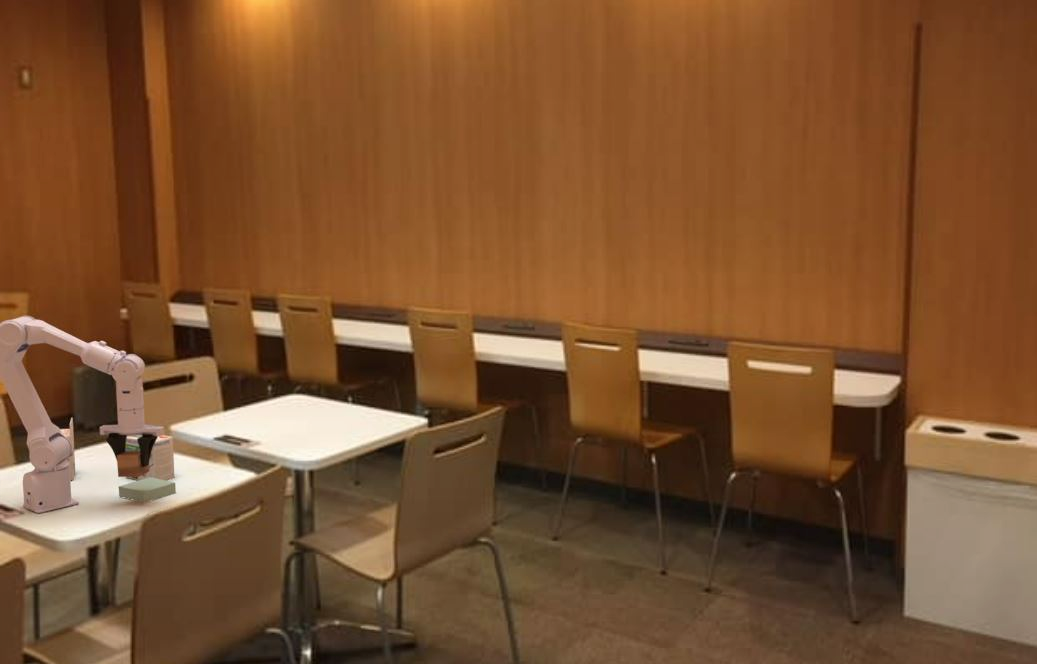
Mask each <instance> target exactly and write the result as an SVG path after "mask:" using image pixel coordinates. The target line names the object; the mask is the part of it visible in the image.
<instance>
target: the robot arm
mask: <svg viewBox="0 0 1037 664" xmlns="http://www.w3.org/2000/svg"><path fill="white" fill-rule="evenodd" d="M37 344H47V345H50V346H53V347H55V348H58V349H60V350H63V351H66V352H68V353H71V354H73V355H76V356H79V357H80V358H81V361H82V363H83V364H85V365H86V366H89V367H91V368H93V369H95V370H97V371H100V372H102V373H105V374H107V375H109V376H112V378H113V379H114V381H115V382H116V406H117V407H116V408H117V424H103V425H101V426H99V435H100V436H105V435H108V437H107V438H106V439H105V440H106V443H107V444H108V445H109V447H110V448H111V450H112V452H113V454H114V457H115V459H116V461H117V455H119V454H121V453H123V452H125V446H126V438H127V437H128V436H133V435H142V437H140V438H138V439H137V441H138V444H139V448H140V453H141V465H142V467H146V466H147V465H149V459H150V455H151V451H152V448H153V446H154V444H155V441H156V439H157V437H160V436H162V435H164V436H165V427H164V426H160V425H159V426H158V425H151V424H145V423H146V422H145V421H146V419H145V401H144V400H145V399H144V387H143V386H144V384H143V377H142V376H143V375H144V373H145V371H146V365H145V361H144V360H143V359H142V358H141V357H140V356H139V355H137V354H133V353H130V354H129V353H128V354H127V351H125V350H120V351H119V350H117V349H115V348H112V347H110V346H108V345H107V342H106V341H104V340H100V341H97V340H94V341H91V342H85V341H84V340H82V339H79V338H77V337H76V336H73V335H72V334H70V333H67V332H65V331H63V330H61V329H59V328H57V327H55V326H54V325H51V324H49V323H47V322H45V321H44V320H41V319H36V318H35V317H33V316H31V315H22V316H19V317H16V318H13V319H6V320H4V321H2V322H0V380H1V382H2V384H3V386H4V388H5V390H6V393H8V394H7V395H8V397H9V398H10V400H11V402H12V404H13V407H14V409H15V410H16V412H17V414H18V416H19V419H21V422H22V425H23V426H24V428H25V430H26V432H27V439H26V445H27V448H28V451H29V461H30V463H31V465H32V466H33V467H34V469H33V470H32V471H28V472H25V473H24V474H23V476H22V477H23V478H22V489H23V490H22V491H23V504H22V506H23V508H26V509H28V510H30V511H32V512H35V513H37V514H39V513H40V514H41V513H44V512H49V511H54V510H57V509H58V510H59V509H62V508H66V507H71V506H74V505H79V504H80V501H78V500H76V499H74V498H73V497H72V486H71V481H70V466H69V462H68V457H69V456H70V454H71V452H72V443H71V441H70V440H69V439H68V438H67V437H66V436H64V435H63V434H62V432H61V430H60V429H61V428H60V427H59V426H57V425H56V424H54V423H53V422H52V421H51V418H50V416H49V415H48V412H47V410H46V409H45V406H44V405H43V402H42V400H41V398H40V397H39V394H38V392H37V389H36V388H35V386H34V384H33V382H32V380H31V378H30V376H29V374H28V372H27V370H26V368H25V366H24V363H23V359H24V357H25V354H26V353H27V351H28V349H29V348H30V346H31V345H37Z"/></svg>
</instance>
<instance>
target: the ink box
mask: <svg viewBox="0 0 1037 664" xmlns="http://www.w3.org/2000/svg"><path fill="white" fill-rule="evenodd" d="M73 420H74V419H73V417H71V418H70V422H69V428H60V430H61V432H62V434H63V435H64V436H66V437H67V438H68V439H69V440H70V441H71V443H72V452H71V454H70V456H69V457H68V462H69V466H70V480H73V481H74V480H75V476H76V457H75V439H74V421H73Z"/></svg>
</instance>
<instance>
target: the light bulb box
mask: <svg viewBox="0 0 1037 664" xmlns="http://www.w3.org/2000/svg"><path fill="white" fill-rule="evenodd" d="M140 437H142V435H128V436H127V438H126V446H125V451H127V450H140V448H139V444H138V441H137V439H138V438H140ZM174 458H175V453H174V437H173V436H169V435H165V434H164V435H162V436H160V437H157V439H156V441H155V444H154V446H153V448H152V451H151V455H150V459H149V472H147V473H145V474H143V475H142V476H140V477H125V478H126V479H130V480H135V481H139V480H142V479H146V478H149V477H152V478H156V479H161V480H166V481H168V480H171V479H174V478H175V477H176V476H175V459H174Z"/></svg>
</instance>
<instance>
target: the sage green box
mask: <svg viewBox="0 0 1037 664" xmlns="http://www.w3.org/2000/svg"><path fill="white" fill-rule="evenodd" d="M176 488H177V487H176V482H174V481H170V480H169V481H168V480H161V479H156V478H152V477H149V478H146V479H142V480H135V481H132V482H129V483H126V484H122V485H119V486H118V497H119V496H120V497H119V498H122V497H125V498H124V499H126V498H129V499H128V500H130V499H133V500H132V501H134V500H137V501H136V502H139V501H141V502H140V503H143V502H146V503H148V502H147V501H149V502H151V501H150V500H152V501H155V500H158V499H161V498H165V497H168V496H171V495H174V494H176V493H177V492H176ZM154 499H155V500H154Z"/></svg>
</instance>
